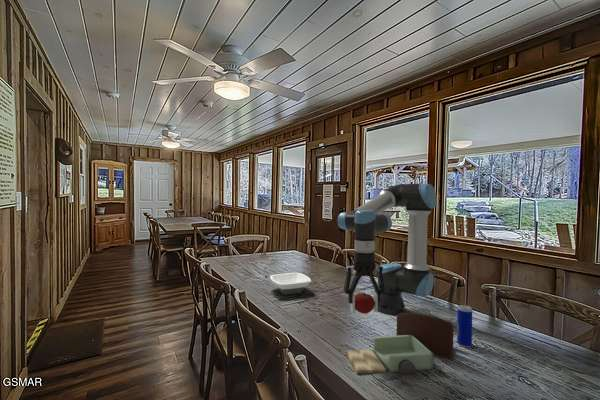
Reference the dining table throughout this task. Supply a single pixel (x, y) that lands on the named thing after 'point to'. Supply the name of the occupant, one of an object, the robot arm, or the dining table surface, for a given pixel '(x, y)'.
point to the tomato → (364, 303)
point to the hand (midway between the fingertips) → (364, 311)
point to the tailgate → (366, 361)
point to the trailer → (403, 354)
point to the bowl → (290, 282)
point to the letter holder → (428, 332)
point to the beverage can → (464, 325)
